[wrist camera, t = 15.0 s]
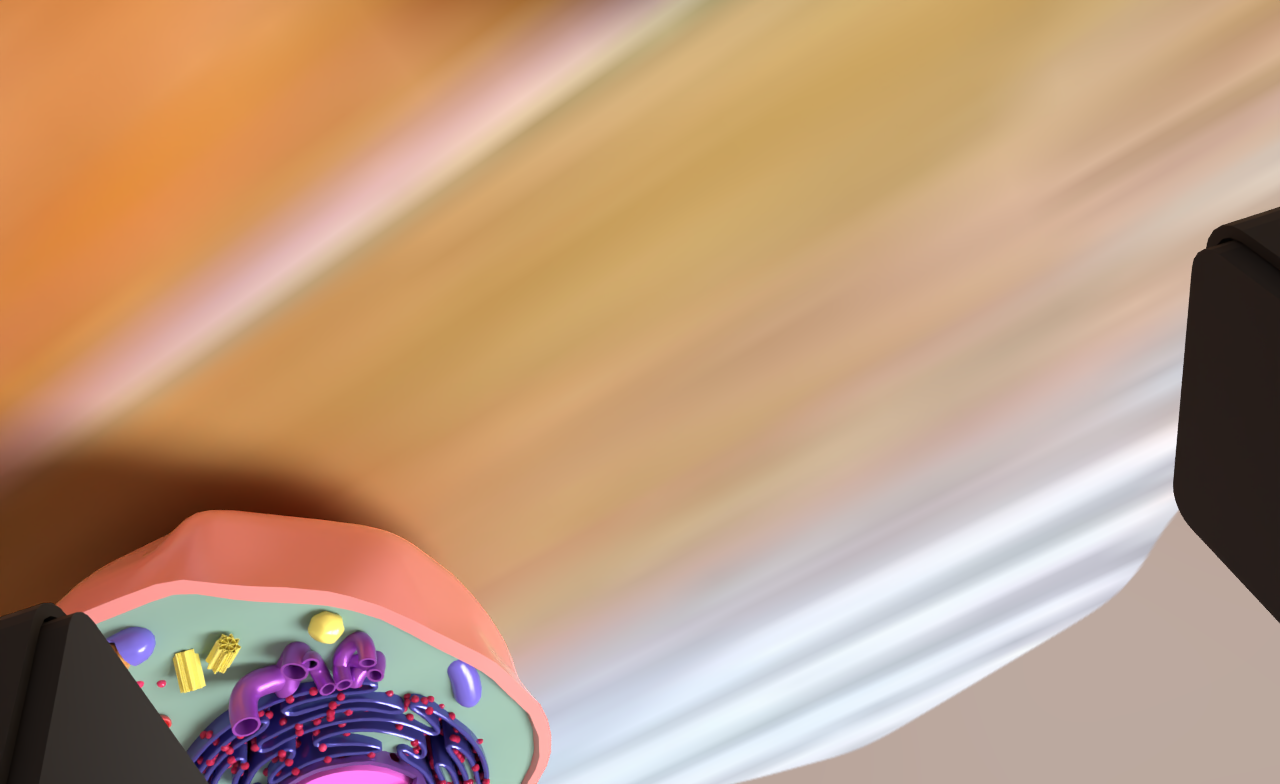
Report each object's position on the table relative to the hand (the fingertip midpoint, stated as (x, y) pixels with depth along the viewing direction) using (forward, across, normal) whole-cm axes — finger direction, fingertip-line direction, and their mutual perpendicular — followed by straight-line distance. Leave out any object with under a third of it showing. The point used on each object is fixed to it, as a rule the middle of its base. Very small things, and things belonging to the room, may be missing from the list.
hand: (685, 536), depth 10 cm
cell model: (+30, +13, +26) cm, 42 cm away
